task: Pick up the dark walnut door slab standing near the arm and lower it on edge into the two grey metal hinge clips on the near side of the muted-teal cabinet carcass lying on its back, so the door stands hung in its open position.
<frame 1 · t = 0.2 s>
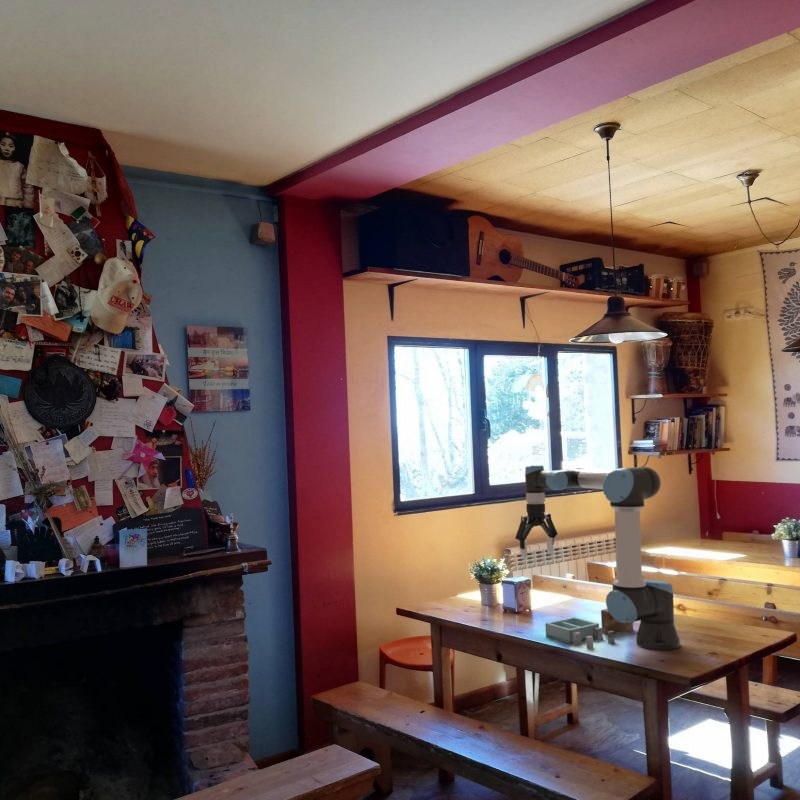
hand: (537, 555, 322), 27 cm above the table, fingers open, 13 cm apart
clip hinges: (594, 643, 290), on the table
door: (617, 631, 306), on the table
carcass: (572, 636, 300), on the table
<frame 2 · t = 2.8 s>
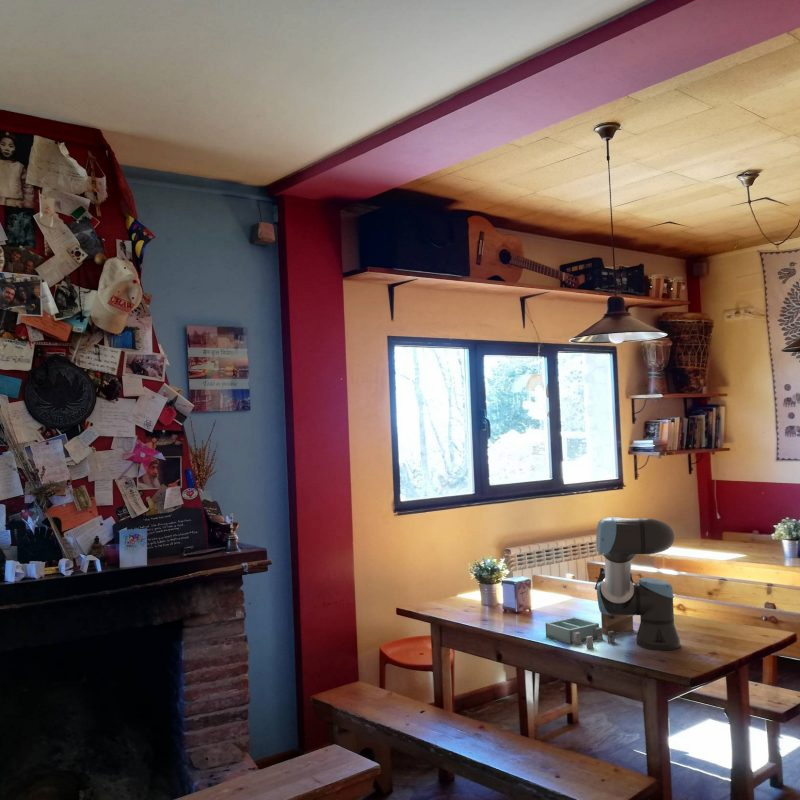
hand: (617, 612, 306), 7 cm above the table, fingers open, 13 cm apart
nothing on the table moved.
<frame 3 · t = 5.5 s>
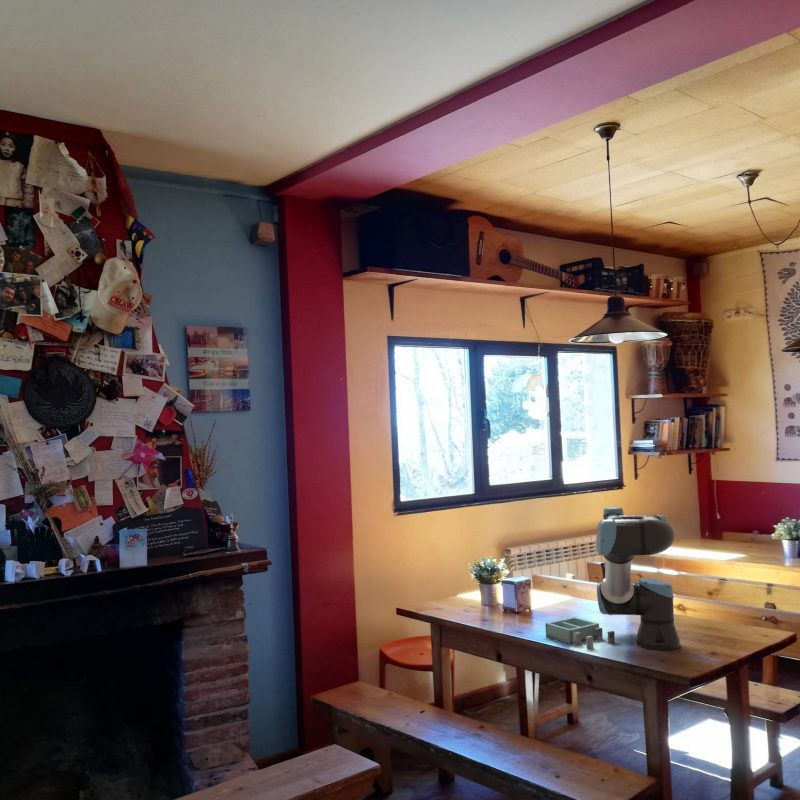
hand: (616, 608, 306), 9 cm above the table, fingers closed on door, 3 cm apart
door: (617, 610, 306), point 8 cm above the table, touching gripper
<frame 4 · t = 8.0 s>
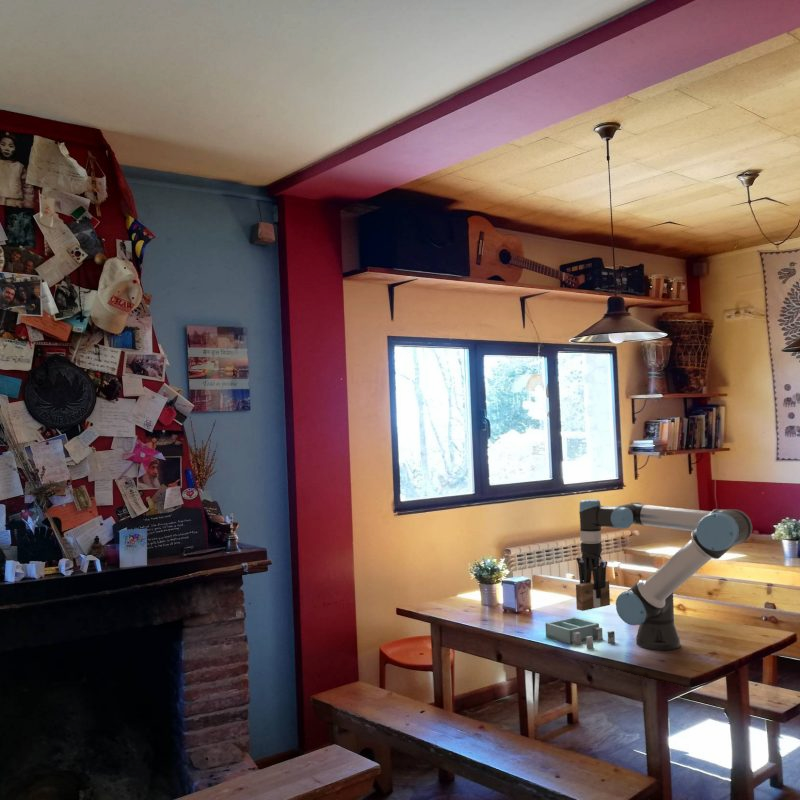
hand: (593, 605, 291), 14 cm above the table, fingers closed on door, 3 cm apart
door: (593, 607, 291), point 13 cm above the table, touching gripper
when the fingers open (1 cm above the table, at t = 10.7 s): door stays where it is, on the table.
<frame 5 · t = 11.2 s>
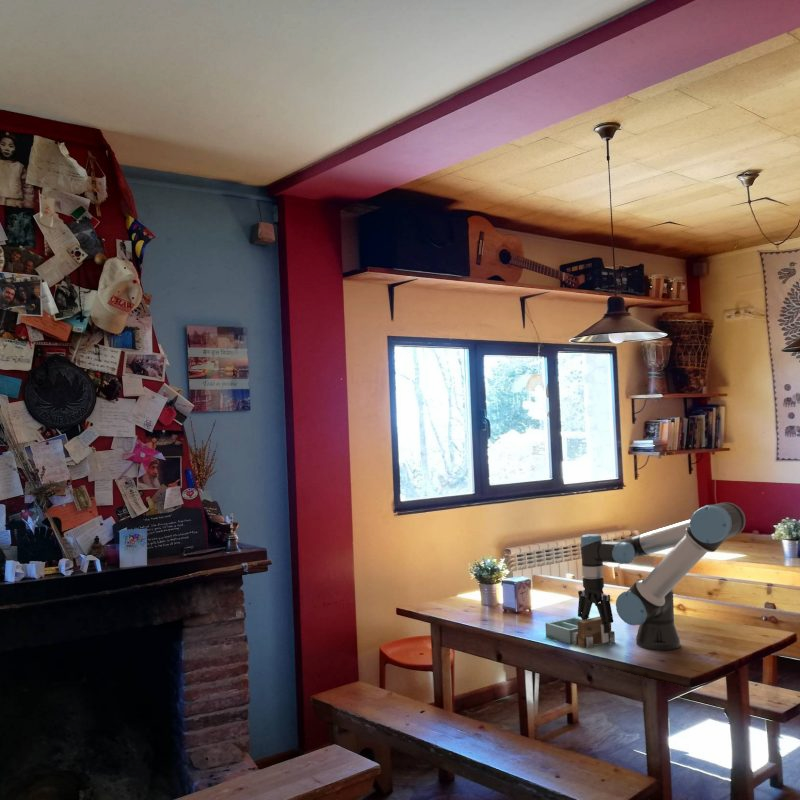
hand: (596, 639, 290), 2 cm above the table, fingers open, 8 cm apart
door: (595, 643, 290), on the table
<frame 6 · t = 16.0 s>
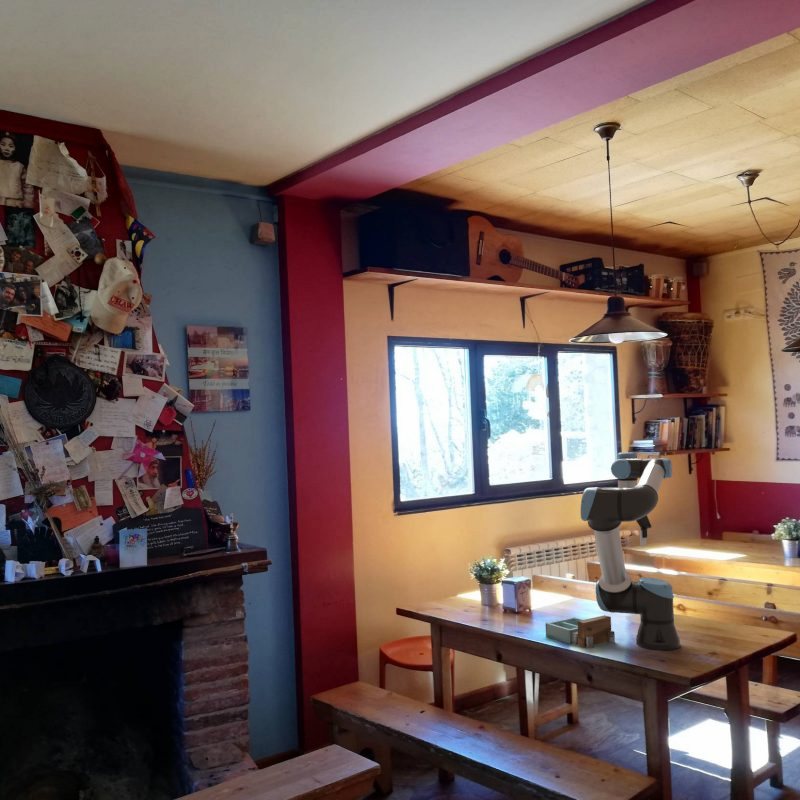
hand: (629, 544, 317), 32 cm above the table, fingers open, 13 cm apart
nothing on the table moved.
at the end: door 0.1 cm off-centre on the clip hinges, point 0.0 cm above the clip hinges's base; door tilted 0°; the gripper is holding nothing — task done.
